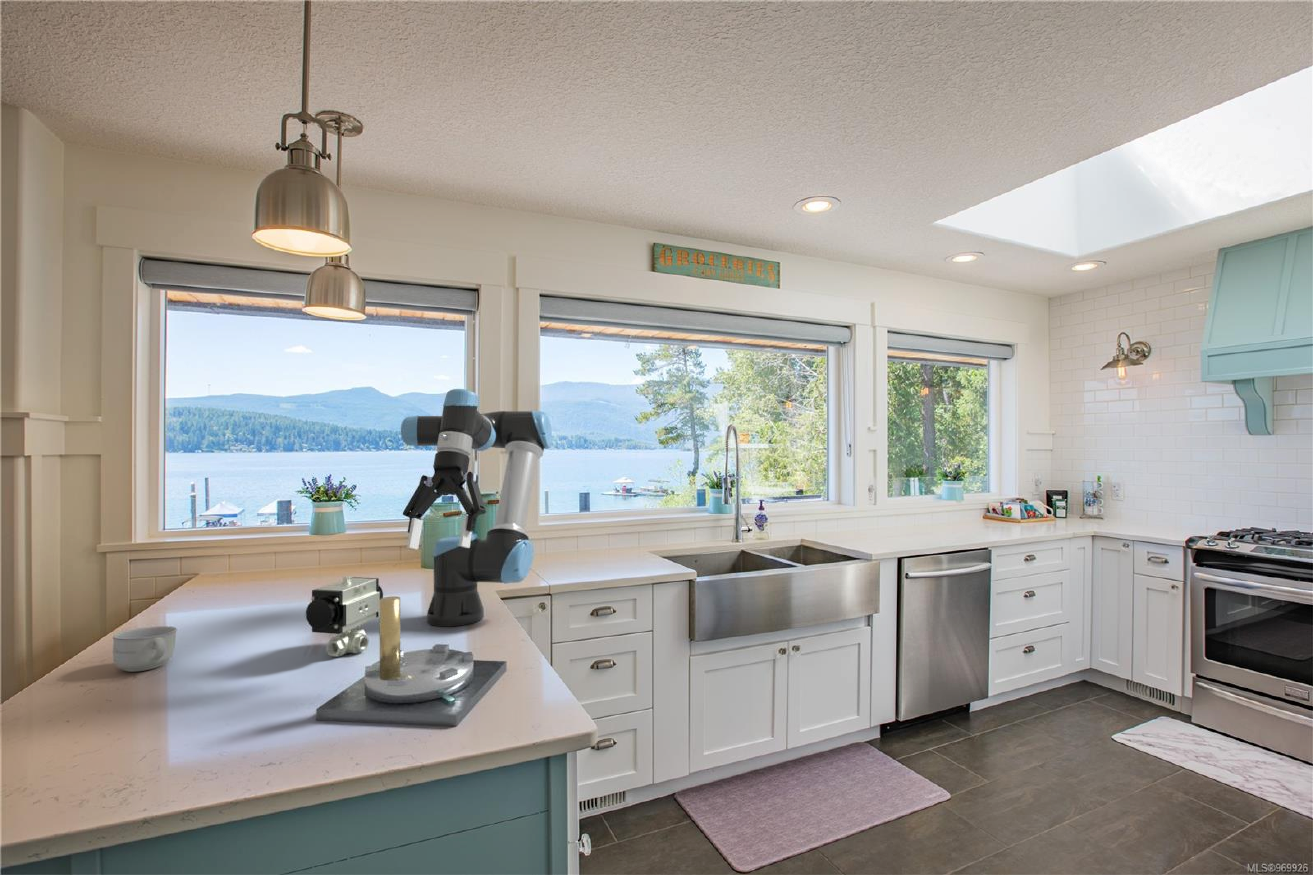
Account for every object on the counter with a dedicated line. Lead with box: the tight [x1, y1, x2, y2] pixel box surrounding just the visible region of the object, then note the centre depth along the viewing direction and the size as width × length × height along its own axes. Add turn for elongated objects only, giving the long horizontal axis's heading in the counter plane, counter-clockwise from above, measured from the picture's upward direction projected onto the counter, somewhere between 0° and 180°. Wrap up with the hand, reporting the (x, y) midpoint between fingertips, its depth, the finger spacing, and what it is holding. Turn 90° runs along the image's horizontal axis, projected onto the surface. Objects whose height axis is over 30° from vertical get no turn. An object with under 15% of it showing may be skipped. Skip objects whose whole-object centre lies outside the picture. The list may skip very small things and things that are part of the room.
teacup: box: [112, 625, 178, 673], centre depth 135 cm, size 14×11×8 cm
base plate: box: [315, 659, 508, 727], centre depth 122 cm, size 26×26×3 cm
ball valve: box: [305, 575, 384, 657], centre depth 145 cm, size 18×8×18 cm, turn 168°
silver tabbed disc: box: [364, 596, 474, 703], centre depth 122 cm, size 20×20×18 cm
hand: (437, 548), depth 133 cm, fingers open, 13 cm apart
